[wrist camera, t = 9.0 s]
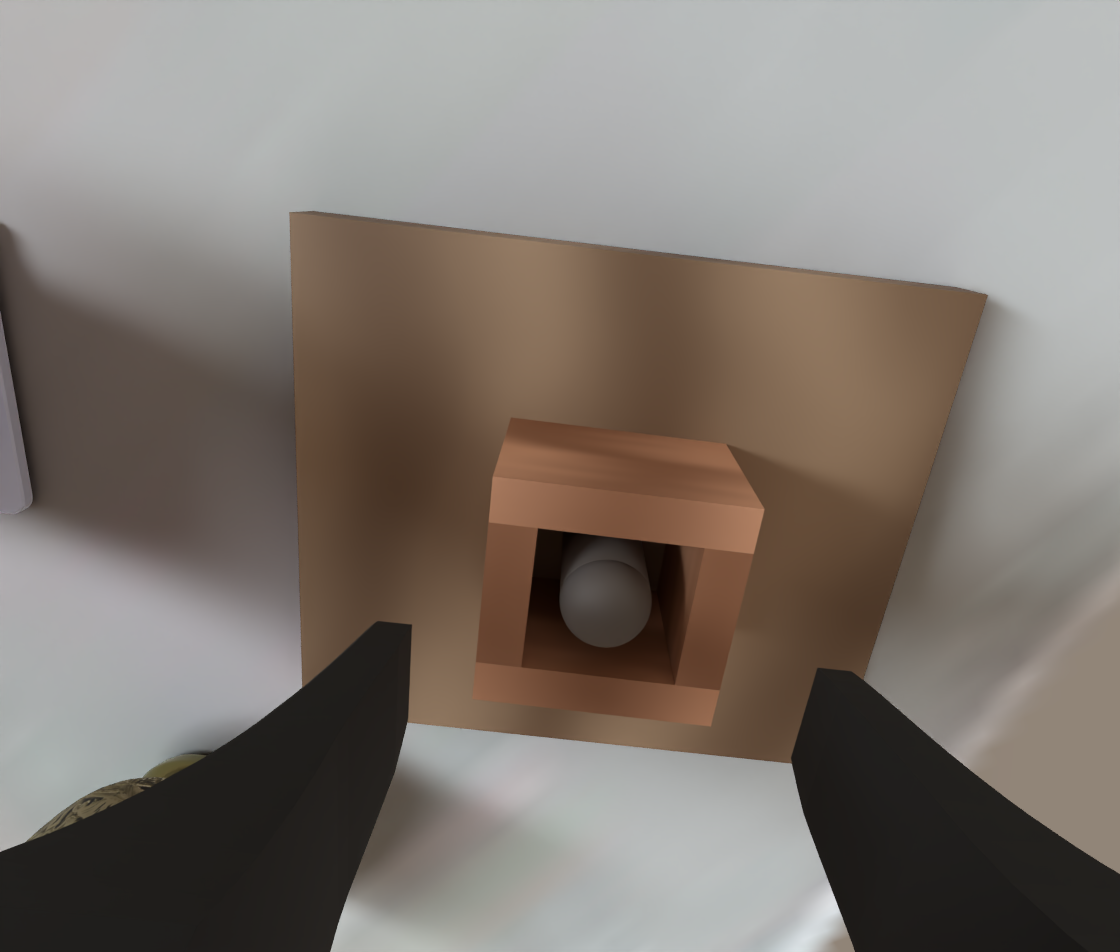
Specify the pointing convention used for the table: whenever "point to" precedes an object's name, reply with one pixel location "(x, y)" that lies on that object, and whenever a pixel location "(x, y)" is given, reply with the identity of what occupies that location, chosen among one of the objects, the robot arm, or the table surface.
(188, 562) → the table surface
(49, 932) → the robot arm
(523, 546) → the hollow wooden block
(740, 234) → the table surface
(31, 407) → the table surface
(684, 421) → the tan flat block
